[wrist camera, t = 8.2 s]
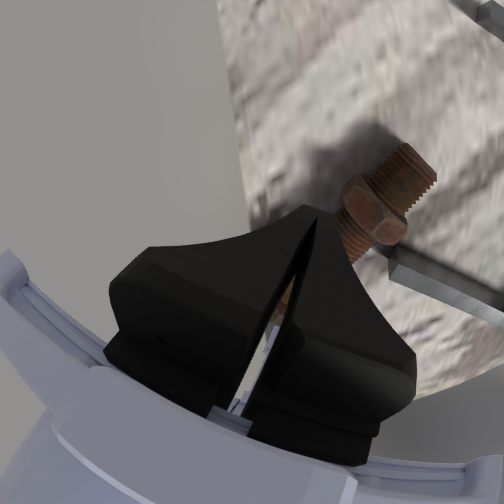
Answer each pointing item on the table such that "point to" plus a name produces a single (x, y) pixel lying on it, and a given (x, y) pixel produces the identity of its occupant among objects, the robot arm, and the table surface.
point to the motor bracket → (436, 275)
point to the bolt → (377, 207)
